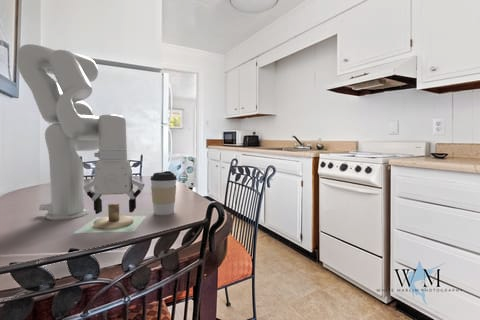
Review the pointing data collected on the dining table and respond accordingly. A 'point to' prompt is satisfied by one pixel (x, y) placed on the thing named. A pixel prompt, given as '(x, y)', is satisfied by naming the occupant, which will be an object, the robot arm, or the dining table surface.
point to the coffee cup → (163, 192)
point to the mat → (130, 228)
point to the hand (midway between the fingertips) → (115, 212)
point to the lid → (113, 219)
